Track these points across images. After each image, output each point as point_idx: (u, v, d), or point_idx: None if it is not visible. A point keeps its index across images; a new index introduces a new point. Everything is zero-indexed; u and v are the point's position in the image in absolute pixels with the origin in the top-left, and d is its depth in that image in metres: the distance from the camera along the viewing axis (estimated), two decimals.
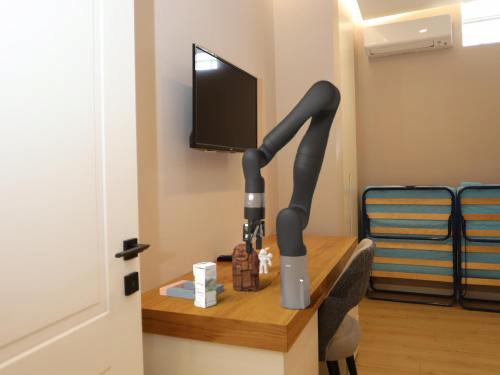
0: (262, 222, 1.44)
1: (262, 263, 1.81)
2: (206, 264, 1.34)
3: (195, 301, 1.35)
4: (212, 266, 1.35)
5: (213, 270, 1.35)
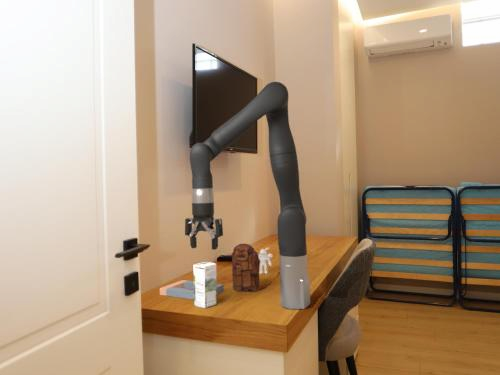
0: None
1: (262, 263, 1.81)
2: (206, 264, 1.34)
3: (195, 301, 1.35)
4: (212, 266, 1.35)
5: (213, 270, 1.35)
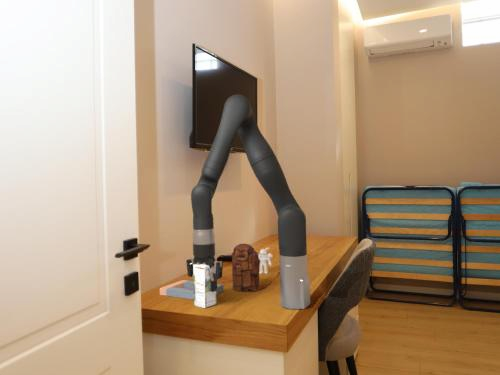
0: None
1: (262, 263, 1.81)
2: None
3: (195, 301, 1.35)
4: (212, 266, 1.35)
5: (213, 270, 1.35)
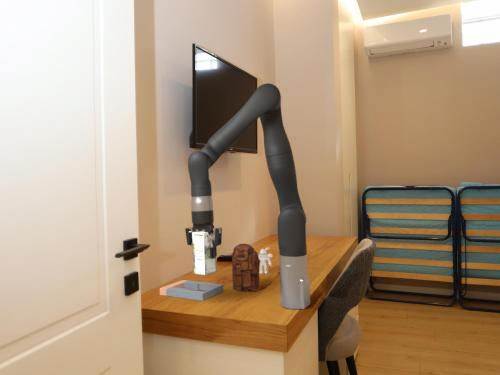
0: None
1: (262, 263, 1.81)
2: None
3: (195, 269, 1.35)
4: (211, 233, 1.34)
5: (212, 237, 1.35)
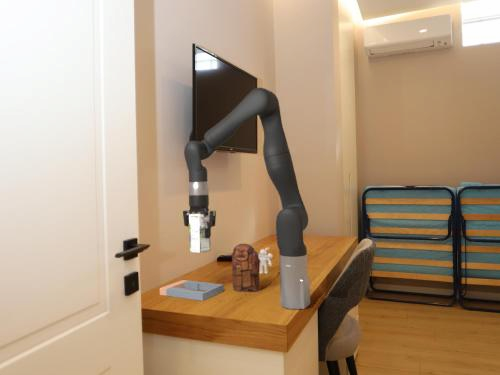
0: None
1: (262, 263, 1.81)
2: None
3: (191, 247, 1.49)
4: (206, 215, 1.48)
5: (207, 219, 1.49)
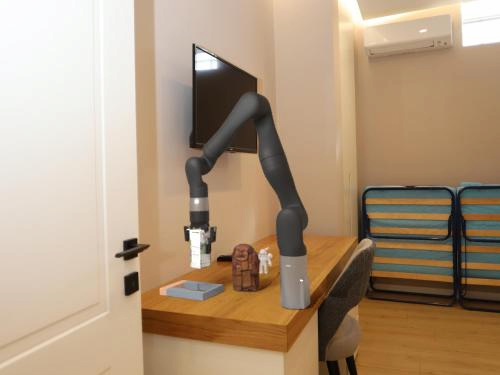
0: None
1: (262, 263, 1.81)
2: None
3: (191, 263, 1.49)
4: None
5: None
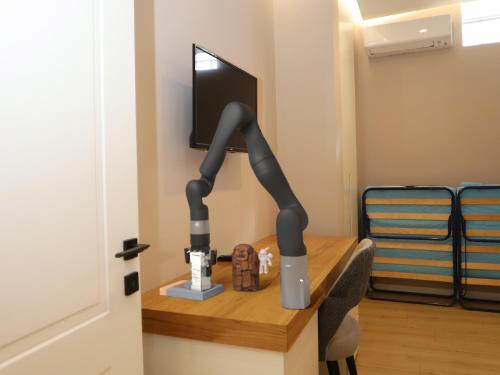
0: None
1: (262, 263, 1.81)
2: None
3: (192, 286, 1.49)
4: (207, 254, 1.49)
5: (208, 257, 1.49)
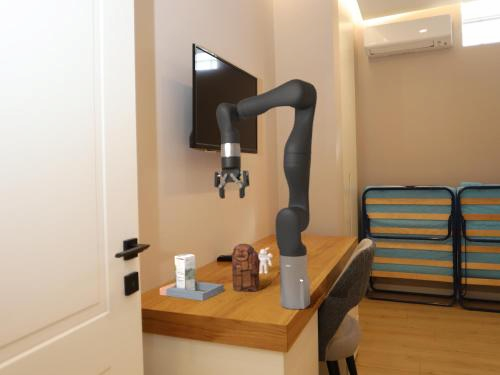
0: None
1: (262, 263, 1.81)
2: (186, 255, 1.52)
3: None
4: (191, 257, 1.52)
5: (192, 261, 1.53)
